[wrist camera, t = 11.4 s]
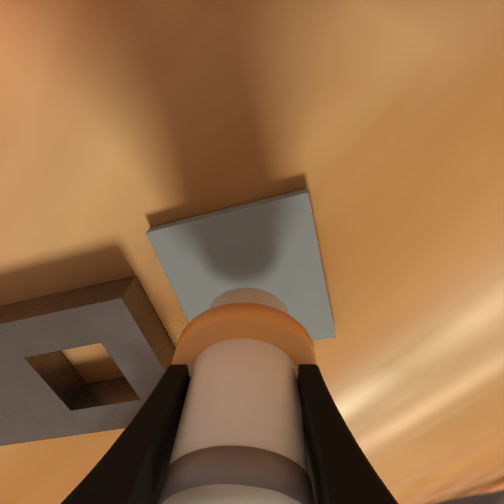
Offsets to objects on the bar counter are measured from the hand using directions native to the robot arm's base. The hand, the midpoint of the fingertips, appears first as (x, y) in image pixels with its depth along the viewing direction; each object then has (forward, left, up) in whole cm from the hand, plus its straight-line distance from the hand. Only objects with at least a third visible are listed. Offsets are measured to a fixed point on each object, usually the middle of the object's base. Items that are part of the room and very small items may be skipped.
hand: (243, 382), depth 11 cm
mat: (0, 0, -6) cm, 6 cm away
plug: (0, 0, -3) cm, 3 cm away
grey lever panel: (+3, -16, -6) cm, 18 cm away
